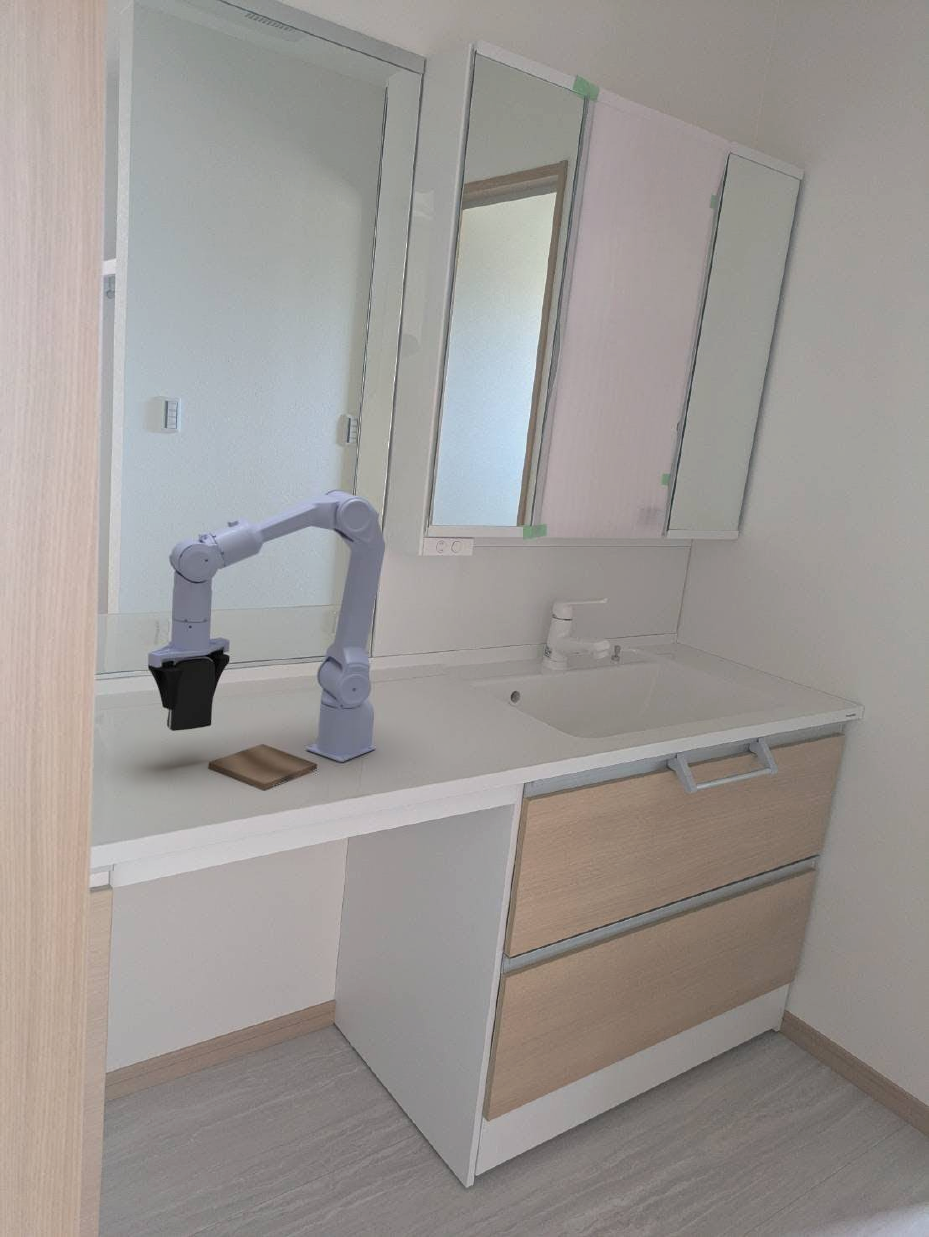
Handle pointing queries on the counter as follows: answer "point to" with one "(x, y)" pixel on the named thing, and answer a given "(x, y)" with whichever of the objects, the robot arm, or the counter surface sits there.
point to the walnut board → (262, 766)
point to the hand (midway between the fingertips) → (188, 702)
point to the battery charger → (193, 694)
